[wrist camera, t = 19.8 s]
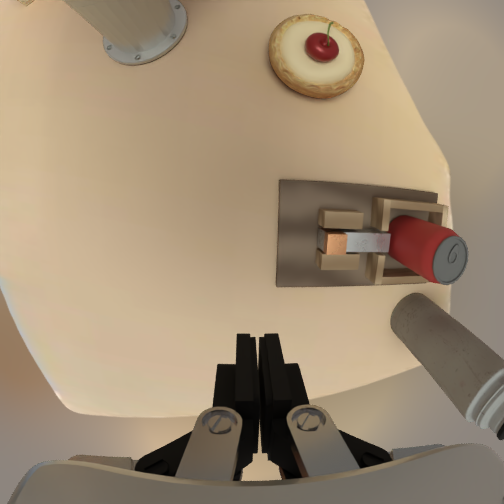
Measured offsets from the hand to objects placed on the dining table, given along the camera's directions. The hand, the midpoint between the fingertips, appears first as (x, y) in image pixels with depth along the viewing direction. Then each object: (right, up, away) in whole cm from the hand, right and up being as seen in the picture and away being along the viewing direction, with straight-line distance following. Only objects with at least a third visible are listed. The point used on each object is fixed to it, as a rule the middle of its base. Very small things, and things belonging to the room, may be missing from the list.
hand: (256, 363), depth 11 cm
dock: (+15, +7, +27) cm, 31 cm away
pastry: (+8, +30, +21) cm, 37 cm away
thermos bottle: (+26, -6, +31) cm, 41 cm away
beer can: (+21, +7, +26) cm, 34 cm away
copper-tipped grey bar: (+13, +7, +25) cm, 29 cm away
